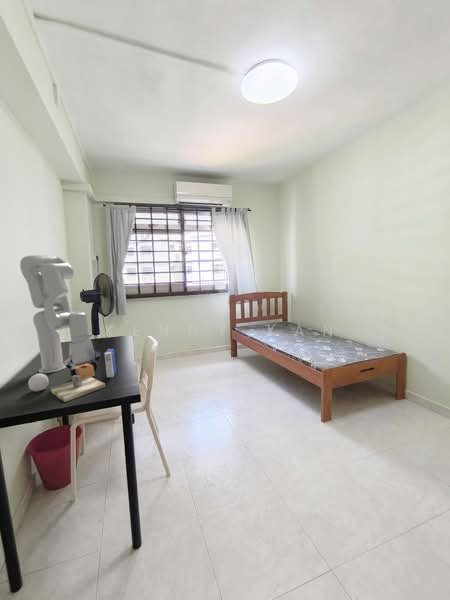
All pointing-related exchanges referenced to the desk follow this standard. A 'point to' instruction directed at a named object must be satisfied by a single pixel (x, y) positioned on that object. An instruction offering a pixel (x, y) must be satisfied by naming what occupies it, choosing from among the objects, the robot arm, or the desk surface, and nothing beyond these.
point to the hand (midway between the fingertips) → (84, 373)
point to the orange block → (85, 370)
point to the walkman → (110, 363)
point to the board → (77, 387)
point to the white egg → (38, 382)
